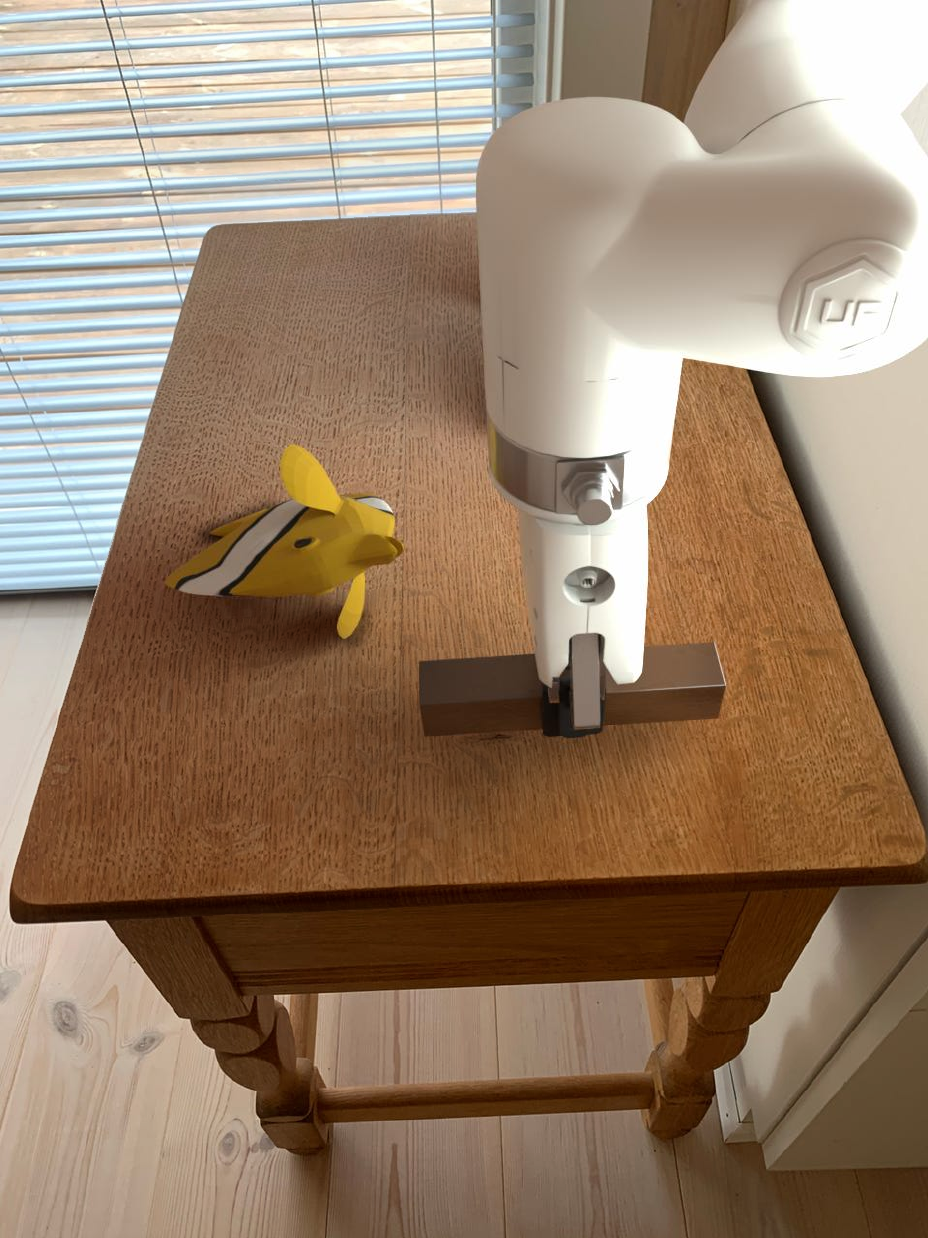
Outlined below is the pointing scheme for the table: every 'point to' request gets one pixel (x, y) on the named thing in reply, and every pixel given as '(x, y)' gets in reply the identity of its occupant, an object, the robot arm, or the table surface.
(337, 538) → the fish
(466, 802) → the table surface
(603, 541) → the robot arm
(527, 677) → the stick
